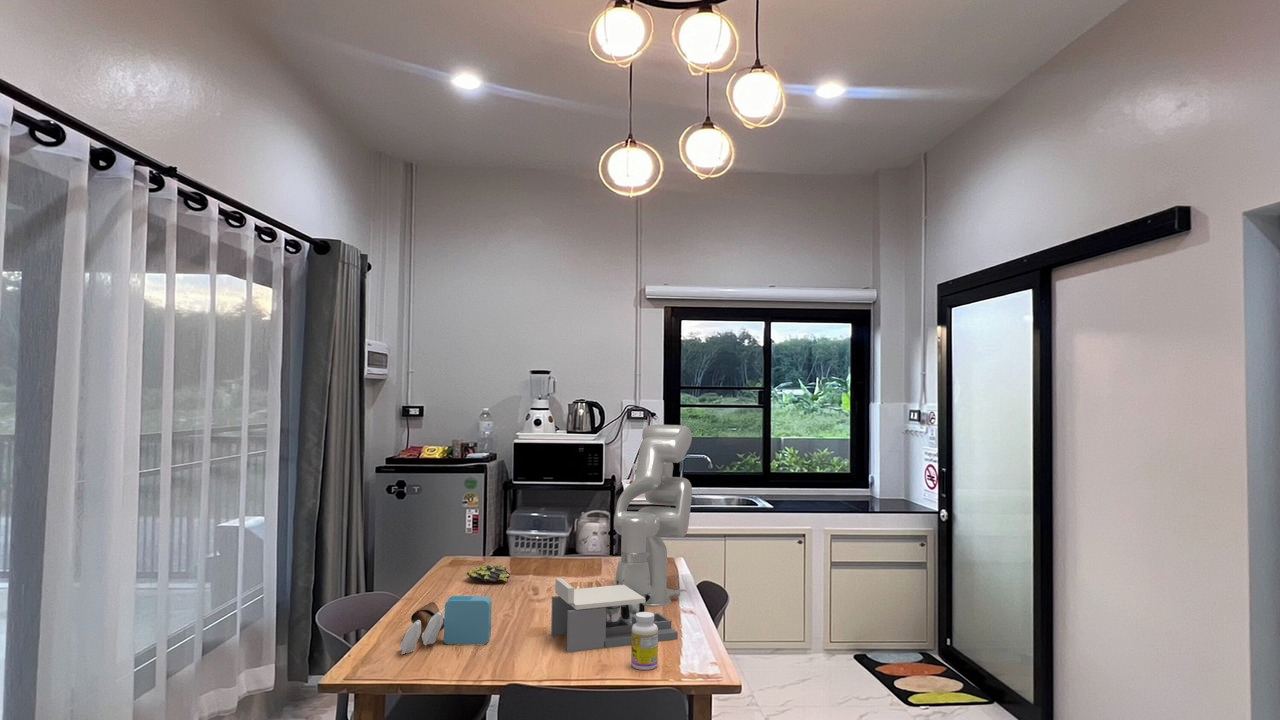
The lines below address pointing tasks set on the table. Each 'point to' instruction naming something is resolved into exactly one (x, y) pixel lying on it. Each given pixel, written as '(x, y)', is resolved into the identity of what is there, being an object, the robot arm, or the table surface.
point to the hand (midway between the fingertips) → (632, 617)
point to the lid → (596, 595)
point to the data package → (467, 620)
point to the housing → (598, 627)
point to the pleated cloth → (489, 573)
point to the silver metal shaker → (633, 610)
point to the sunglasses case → (425, 615)
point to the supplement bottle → (644, 642)
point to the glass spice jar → (613, 616)
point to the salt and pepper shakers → (427, 636)
